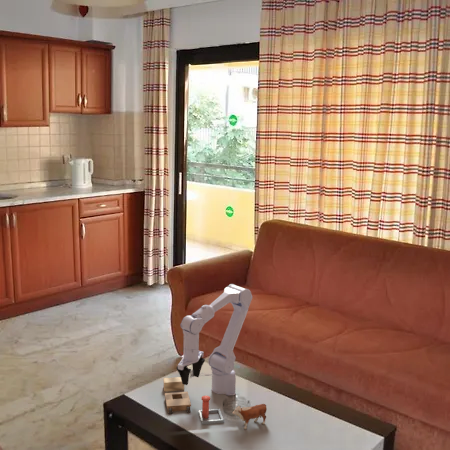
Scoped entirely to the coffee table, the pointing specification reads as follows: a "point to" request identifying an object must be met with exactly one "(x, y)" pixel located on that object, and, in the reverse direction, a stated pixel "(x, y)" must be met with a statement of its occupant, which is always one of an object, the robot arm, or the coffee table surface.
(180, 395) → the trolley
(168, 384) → the block
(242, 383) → the coffee table surface
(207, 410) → the pin
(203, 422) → the grey square frame
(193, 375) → the bracket
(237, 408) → the bull figurine
